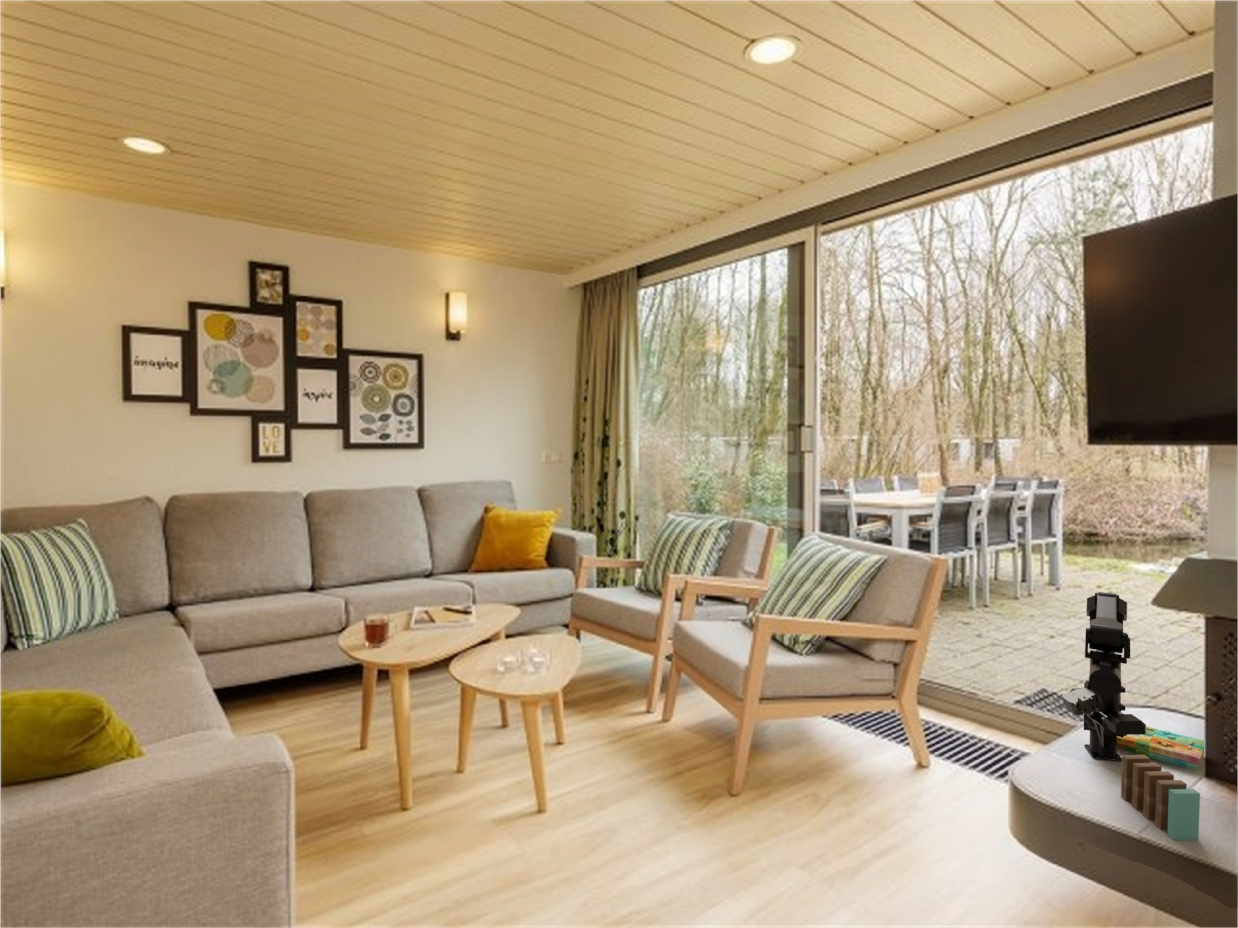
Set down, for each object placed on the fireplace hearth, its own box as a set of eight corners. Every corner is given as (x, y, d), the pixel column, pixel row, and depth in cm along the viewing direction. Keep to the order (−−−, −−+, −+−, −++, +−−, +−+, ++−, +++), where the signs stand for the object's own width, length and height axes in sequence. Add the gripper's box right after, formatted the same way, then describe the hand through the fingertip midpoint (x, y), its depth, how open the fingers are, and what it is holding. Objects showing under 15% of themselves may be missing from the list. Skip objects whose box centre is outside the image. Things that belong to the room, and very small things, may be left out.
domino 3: (1143, 815, 151) (1144, 771, 150) (1166, 814, 150) (1168, 770, 149) (1148, 819, 149) (1149, 775, 148) (1172, 819, 149) (1173, 774, 148)
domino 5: (1167, 835, 144) (1168, 789, 143) (1192, 834, 143) (1193, 788, 143) (1173, 839, 142) (1174, 793, 141) (1198, 839, 142) (1200, 793, 141)
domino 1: (1120, 797, 158) (1122, 755, 157) (1143, 796, 157) (1144, 754, 156) (1125, 801, 156) (1127, 758, 155) (1148, 800, 156) (1149, 758, 155)
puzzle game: (1200, 755, 166) (1100, 729, 180) (1199, 774, 166) (1100, 747, 180) (1206, 738, 174) (1110, 714, 188) (1206, 756, 174) (1110, 731, 188)
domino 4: (1155, 824, 147) (1156, 780, 146) (1179, 824, 147) (1180, 779, 146) (1160, 829, 145) (1162, 784, 145) (1185, 829, 145) (1186, 783, 144)
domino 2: (1131, 805, 154) (1133, 762, 153) (1154, 805, 154) (1156, 762, 153) (1136, 810, 152) (1138, 766, 152) (1160, 809, 152) (1161, 766, 151)
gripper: (1045, 665, 166) (1045, 728, 167) (1093, 697, 147) (1092, 767, 148) (1094, 664, 165) (1094, 727, 166) (1148, 696, 146) (1147, 767, 147)
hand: (1105, 746), depth 157 cm, fingers closed
